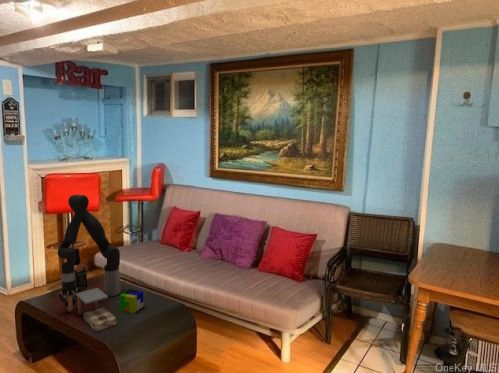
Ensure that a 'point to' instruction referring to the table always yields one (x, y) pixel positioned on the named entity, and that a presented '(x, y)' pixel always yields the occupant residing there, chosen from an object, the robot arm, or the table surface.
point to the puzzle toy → (131, 301)
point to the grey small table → (90, 298)
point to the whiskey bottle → (80, 273)
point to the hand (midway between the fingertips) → (69, 305)
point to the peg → (70, 303)
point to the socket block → (100, 319)
